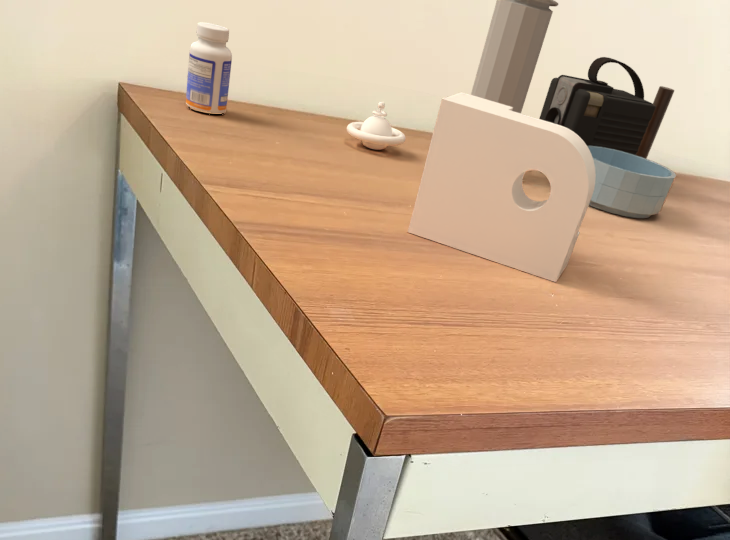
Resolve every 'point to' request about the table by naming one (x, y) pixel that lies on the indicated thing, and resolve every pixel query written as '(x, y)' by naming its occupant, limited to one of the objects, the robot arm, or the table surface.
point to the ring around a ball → (376, 131)
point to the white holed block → (503, 186)
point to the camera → (599, 109)
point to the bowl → (629, 183)
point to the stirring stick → (655, 120)
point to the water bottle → (512, 51)
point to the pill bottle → (209, 69)
